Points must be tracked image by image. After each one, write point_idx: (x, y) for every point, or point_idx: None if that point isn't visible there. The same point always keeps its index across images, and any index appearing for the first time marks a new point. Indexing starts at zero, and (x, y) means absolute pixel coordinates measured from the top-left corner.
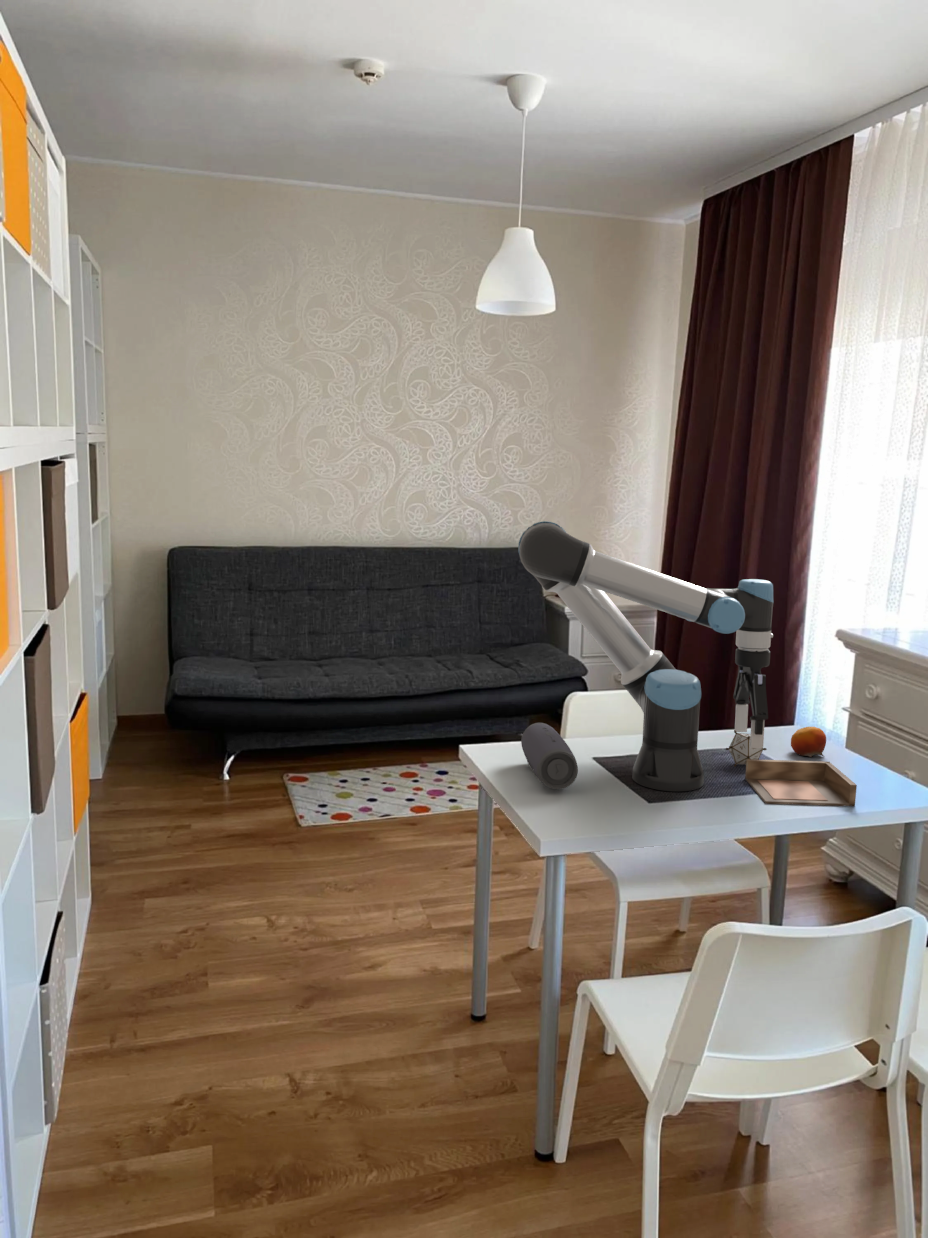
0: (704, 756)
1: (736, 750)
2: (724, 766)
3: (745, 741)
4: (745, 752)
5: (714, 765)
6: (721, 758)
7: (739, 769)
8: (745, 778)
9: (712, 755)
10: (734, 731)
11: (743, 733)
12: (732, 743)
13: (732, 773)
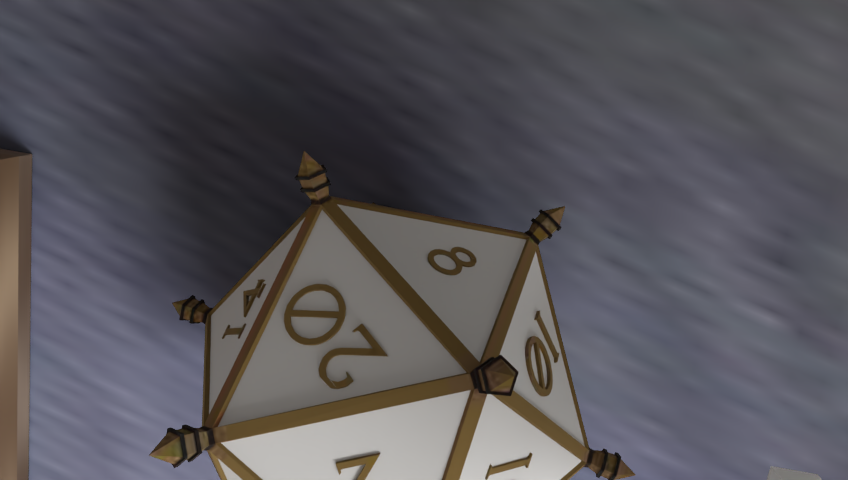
0: (745, 52)
1: (282, 236)
2: (400, 123)
3: (225, 377)
4: (224, 313)
5: (437, 35)
6: (651, 200)
7: None
8: (15, 153)
9: (763, 151)
10: (491, 364)
11: (444, 473)
12: (366, 237)
13: (191, 110)
